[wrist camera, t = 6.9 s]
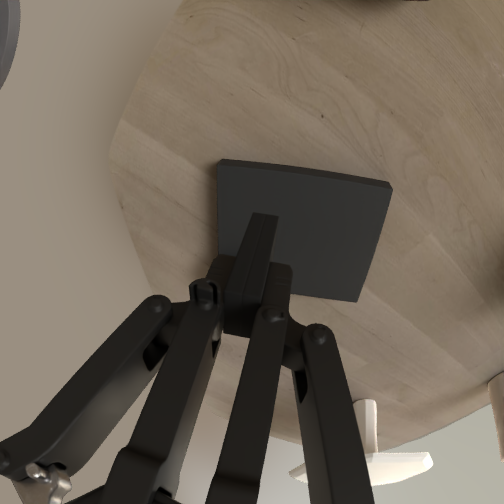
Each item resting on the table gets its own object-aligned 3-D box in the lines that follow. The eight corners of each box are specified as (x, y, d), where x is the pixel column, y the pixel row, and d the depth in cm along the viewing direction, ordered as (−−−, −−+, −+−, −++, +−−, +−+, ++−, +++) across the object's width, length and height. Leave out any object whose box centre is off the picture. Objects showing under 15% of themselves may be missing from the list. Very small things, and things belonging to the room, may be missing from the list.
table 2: (290, 372, 49) (277, 461, 36) (445, 360, 42) (460, 446, 28) (302, 428, 64) (294, 488, 51) (412, 421, 57) (415, 482, 44)
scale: (217, 279, 39) (210, 297, 36) (214, 158, 30) (203, 170, 27) (353, 299, 37) (354, 319, 34) (388, 181, 27) (397, 196, 25)
